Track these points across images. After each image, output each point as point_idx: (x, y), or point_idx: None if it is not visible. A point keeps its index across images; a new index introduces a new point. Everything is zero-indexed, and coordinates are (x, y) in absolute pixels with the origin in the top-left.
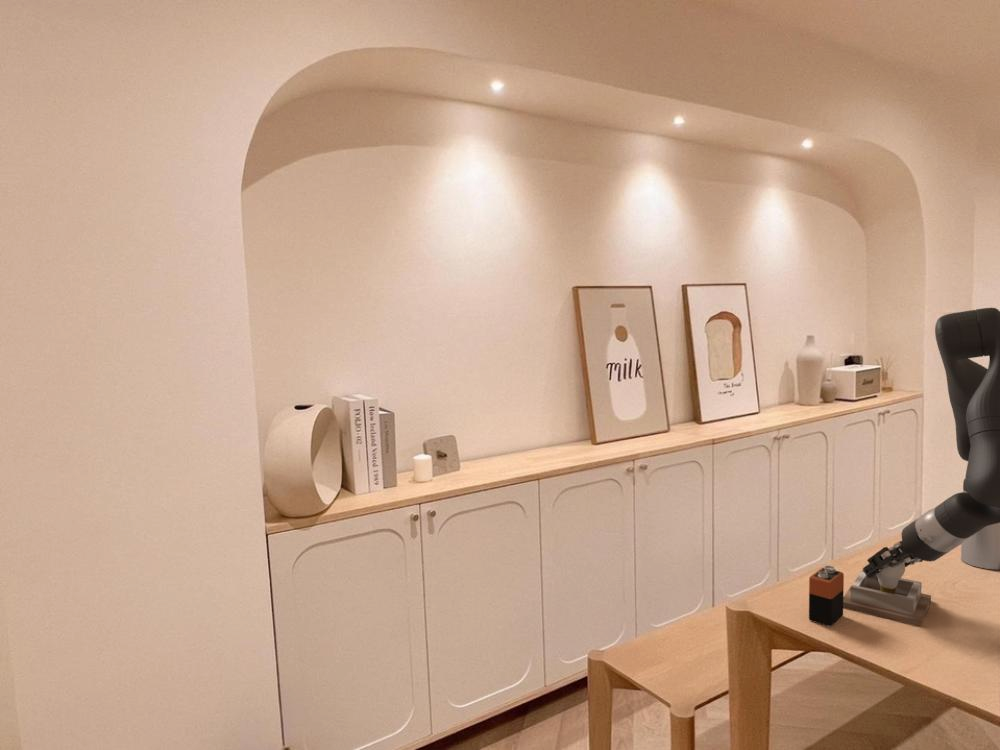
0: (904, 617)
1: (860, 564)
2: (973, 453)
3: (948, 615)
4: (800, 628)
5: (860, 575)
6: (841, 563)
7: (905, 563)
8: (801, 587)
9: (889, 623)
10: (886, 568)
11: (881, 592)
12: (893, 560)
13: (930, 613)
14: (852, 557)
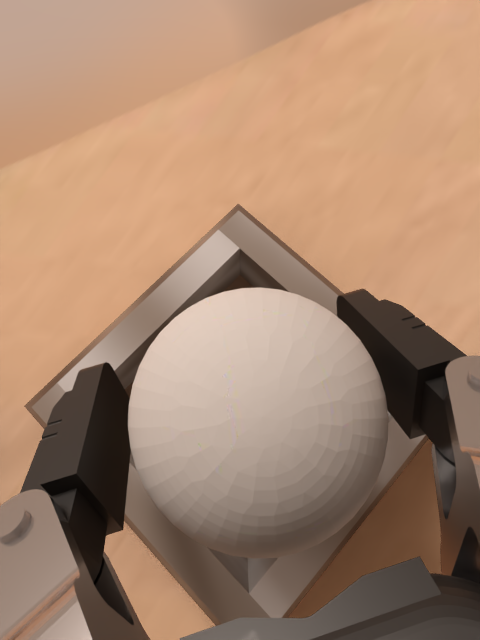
0: (202, 605)
1: (364, 59)
2: None
3: (439, 542)
4: None
5: (182, 273)
6: (299, 44)
7: (407, 423)
8: (14, 216)
9: (136, 589)
10: (122, 590)
11: (144, 509)
12: (236, 547)
13: (373, 512)
14: (370, 4)
